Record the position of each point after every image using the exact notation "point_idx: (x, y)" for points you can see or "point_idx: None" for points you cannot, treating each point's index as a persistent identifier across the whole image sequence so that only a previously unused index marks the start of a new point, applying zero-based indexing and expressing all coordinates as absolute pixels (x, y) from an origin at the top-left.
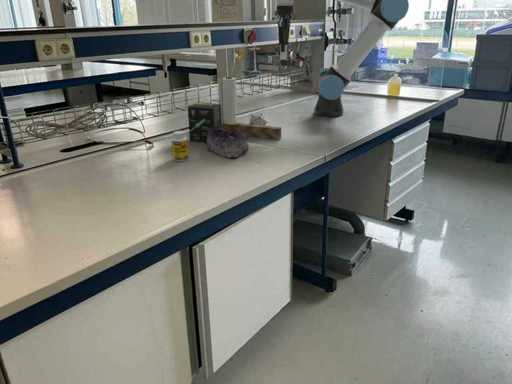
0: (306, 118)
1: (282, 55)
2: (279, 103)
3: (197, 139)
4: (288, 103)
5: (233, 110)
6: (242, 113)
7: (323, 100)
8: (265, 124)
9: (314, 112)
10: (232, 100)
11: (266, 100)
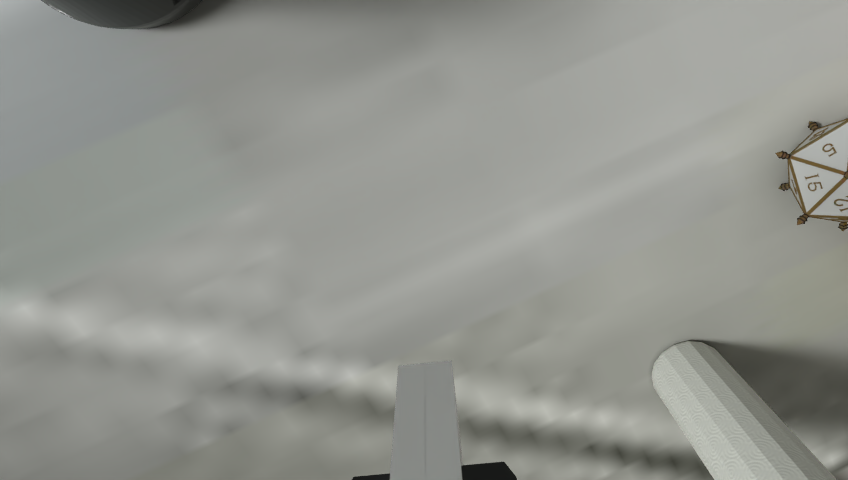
0: (357, 11)
1: (460, 449)
2: (54, 353)
3: None
4: (12, 304)
5: (748, 390)
6: None
7: None
8: (844, 120)
9: (189, 9)
10: (792, 435)
11: (33, 454)
